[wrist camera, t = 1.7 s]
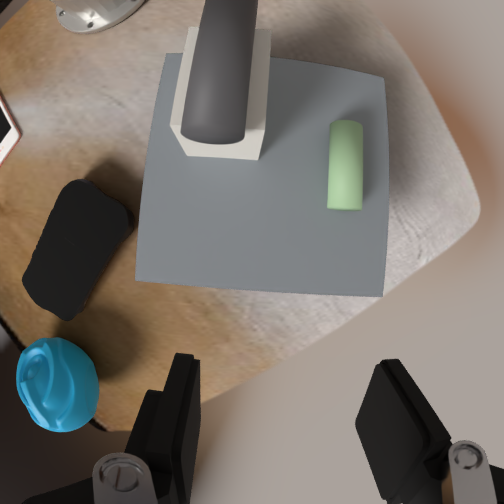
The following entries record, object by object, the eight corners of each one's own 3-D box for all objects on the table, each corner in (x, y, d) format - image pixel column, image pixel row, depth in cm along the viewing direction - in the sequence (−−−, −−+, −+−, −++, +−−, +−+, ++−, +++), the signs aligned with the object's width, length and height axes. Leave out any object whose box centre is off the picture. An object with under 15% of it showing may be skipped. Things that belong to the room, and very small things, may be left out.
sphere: (82, 312, 34) (34, 364, 23) (130, 383, 37) (102, 446, 26) (28, 336, 35) (-16, 381, 24) (72, 398, 38) (41, 450, 27)
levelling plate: (172, 69, 24) (140, -20, 12) (372, 90, 25) (435, 20, 13) (145, 277, 24) (74, 301, 12) (368, 292, 25) (454, 322, 13)
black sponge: (88, 168, 30) (71, 169, 26) (145, 214, 31) (133, 221, 28) (33, 276, 33) (17, 287, 30) (80, 318, 35) (67, 332, 31)
